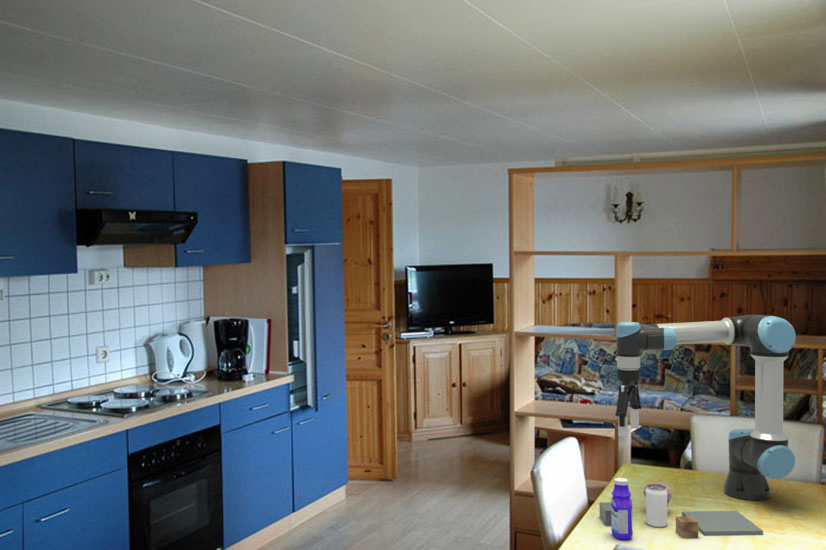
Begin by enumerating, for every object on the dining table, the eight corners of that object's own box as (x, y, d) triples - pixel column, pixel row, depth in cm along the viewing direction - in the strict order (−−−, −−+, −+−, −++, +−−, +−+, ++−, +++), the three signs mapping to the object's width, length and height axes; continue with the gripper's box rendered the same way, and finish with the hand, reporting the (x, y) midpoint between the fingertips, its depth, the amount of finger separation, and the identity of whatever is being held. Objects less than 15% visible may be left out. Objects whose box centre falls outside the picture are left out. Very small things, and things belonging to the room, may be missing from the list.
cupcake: (638, 511, 242) (638, 481, 241) (653, 506, 247) (653, 477, 247) (661, 518, 234) (661, 488, 234) (677, 513, 240) (676, 483, 240)
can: (669, 528, 226) (668, 490, 226) (647, 527, 227) (647, 489, 227) (666, 521, 232) (665, 484, 232) (645, 520, 233) (644, 483, 233)
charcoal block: (611, 517, 237) (611, 502, 237) (618, 526, 229) (618, 510, 229) (599, 517, 237) (599, 502, 237) (605, 526, 229) (605, 510, 229)
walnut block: (691, 532, 223) (691, 516, 223) (698, 538, 218) (698, 521, 218) (675, 532, 223) (675, 516, 223) (681, 538, 218) (681, 522, 218)
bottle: (608, 532, 223) (607, 476, 223) (626, 531, 224) (625, 475, 223) (617, 541, 216) (616, 483, 216) (635, 540, 216) (635, 482, 216)
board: (736, 514, 238) (736, 510, 238) (763, 534, 220) (763, 530, 220) (682, 515, 238) (682, 511, 238) (703, 535, 220) (703, 531, 220)
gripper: (628, 363, 253) (628, 423, 253) (605, 372, 232) (606, 438, 232) (649, 364, 249) (650, 426, 249) (628, 374, 228) (629, 441, 228)
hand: (629, 432), depth 241 cm, fingers open, 13 cm apart
